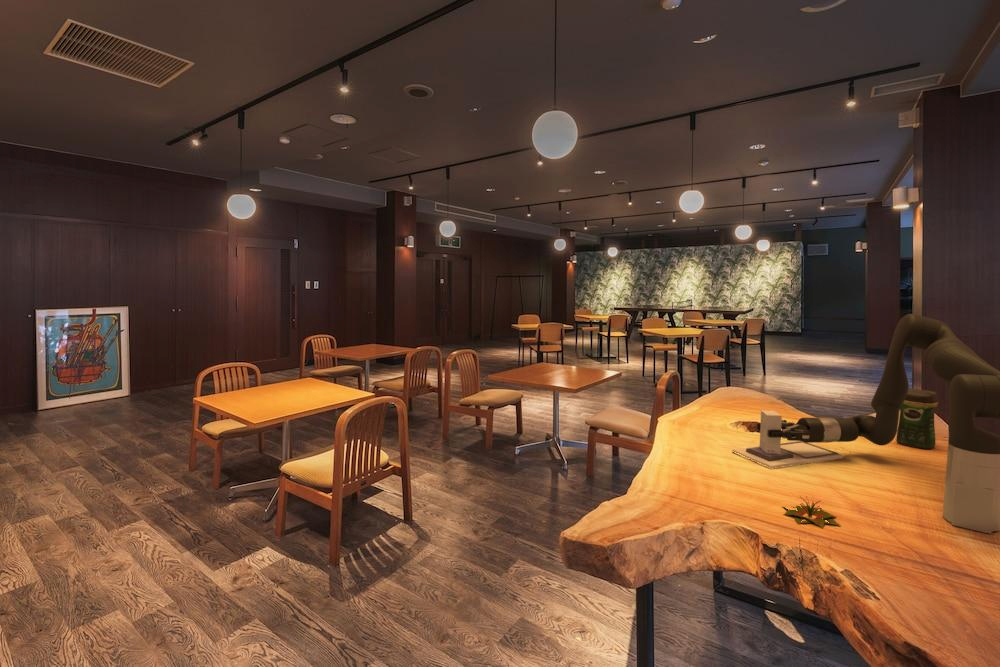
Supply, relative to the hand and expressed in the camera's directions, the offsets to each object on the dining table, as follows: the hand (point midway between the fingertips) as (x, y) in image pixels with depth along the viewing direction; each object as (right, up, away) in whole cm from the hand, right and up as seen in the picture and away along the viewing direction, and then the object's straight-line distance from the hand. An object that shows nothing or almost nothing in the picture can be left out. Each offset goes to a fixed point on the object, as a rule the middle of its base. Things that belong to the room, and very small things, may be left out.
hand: (762, 430), depth 150 cm
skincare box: (+2, -7, +1) cm, 7 cm away
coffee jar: (+56, -7, +11) cm, 58 cm away
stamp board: (+9, -8, +3) cm, 13 cm away
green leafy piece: (-9, -13, -37) cm, 40 cm away
